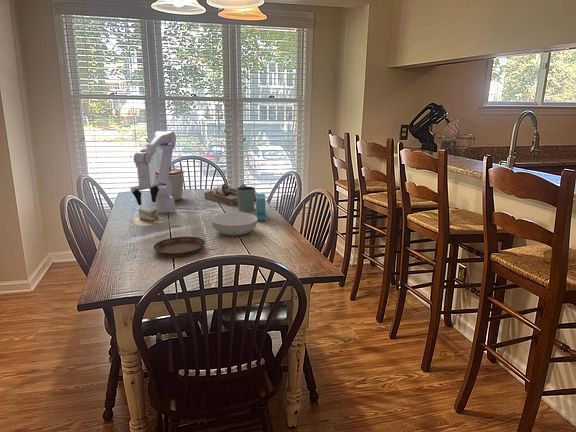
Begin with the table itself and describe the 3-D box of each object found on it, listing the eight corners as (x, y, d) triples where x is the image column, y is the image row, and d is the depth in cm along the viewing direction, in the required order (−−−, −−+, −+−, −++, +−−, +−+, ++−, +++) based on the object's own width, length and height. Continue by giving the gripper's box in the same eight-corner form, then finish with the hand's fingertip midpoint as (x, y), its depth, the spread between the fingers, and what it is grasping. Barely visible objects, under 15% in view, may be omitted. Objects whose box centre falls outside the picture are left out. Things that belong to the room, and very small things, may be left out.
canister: (173, 194, 277) (170, 161, 272) (192, 198, 267) (190, 164, 261) (149, 200, 263) (146, 165, 258) (168, 204, 253) (166, 168, 247)
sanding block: (146, 216, 222) (146, 207, 221) (158, 219, 217) (157, 209, 216) (139, 218, 219) (138, 209, 217) (151, 221, 214) (150, 211, 212)
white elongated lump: (211, 201, 261) (210, 185, 258) (215, 197, 270) (214, 181, 267) (252, 202, 258) (252, 185, 255) (255, 198, 268) (255, 182, 265)
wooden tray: (228, 193, 280) (228, 187, 279) (256, 200, 262) (255, 193, 261) (204, 198, 267) (204, 192, 266) (231, 205, 249) (231, 199, 248)
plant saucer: (144, 251, 178) (143, 243, 177) (188, 239, 192) (187, 232, 191) (170, 264, 164) (170, 256, 163) (215, 251, 178) (215, 243, 177)
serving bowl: (221, 242, 188) (220, 227, 186) (206, 229, 206) (205, 215, 204) (265, 235, 197) (264, 221, 195) (247, 224, 215) (247, 210, 213)
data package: (265, 221, 218) (265, 198, 215) (256, 222, 218) (256, 198, 215) (265, 215, 230) (264, 193, 226) (256, 215, 229) (256, 193, 226)
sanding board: (153, 217, 227) (152, 214, 227) (170, 223, 215) (169, 220, 215) (125, 223, 217) (125, 220, 216) (141, 230, 205) (141, 227, 205)
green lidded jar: (234, 210, 239) (233, 189, 236) (242, 206, 248) (242, 185, 245) (250, 212, 236) (249, 190, 233) (258, 207, 245) (258, 186, 242)
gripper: (153, 173, 221) (155, 199, 225) (126, 177, 211) (129, 204, 214) (160, 175, 216) (162, 201, 220) (133, 179, 206) (136, 207, 210)
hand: (146, 203), depth 217 cm, fingers open, 7 cm apart
